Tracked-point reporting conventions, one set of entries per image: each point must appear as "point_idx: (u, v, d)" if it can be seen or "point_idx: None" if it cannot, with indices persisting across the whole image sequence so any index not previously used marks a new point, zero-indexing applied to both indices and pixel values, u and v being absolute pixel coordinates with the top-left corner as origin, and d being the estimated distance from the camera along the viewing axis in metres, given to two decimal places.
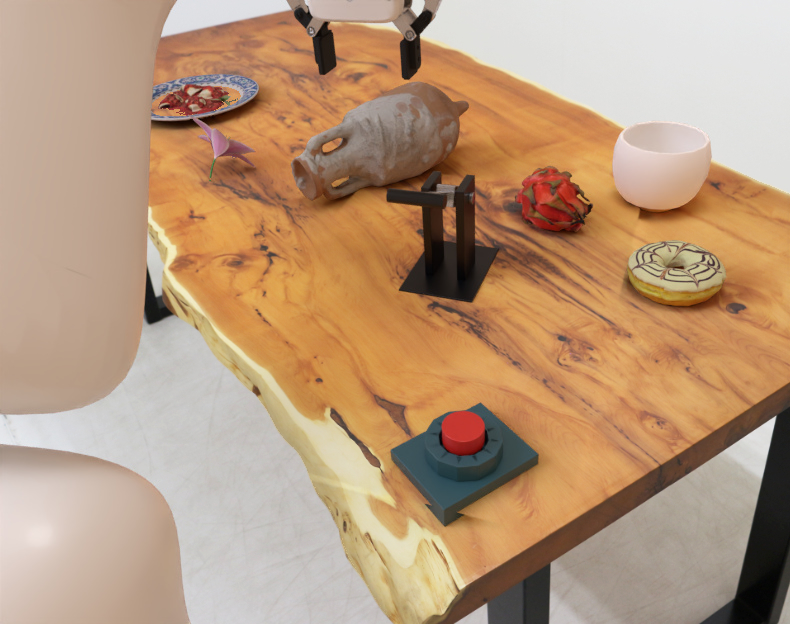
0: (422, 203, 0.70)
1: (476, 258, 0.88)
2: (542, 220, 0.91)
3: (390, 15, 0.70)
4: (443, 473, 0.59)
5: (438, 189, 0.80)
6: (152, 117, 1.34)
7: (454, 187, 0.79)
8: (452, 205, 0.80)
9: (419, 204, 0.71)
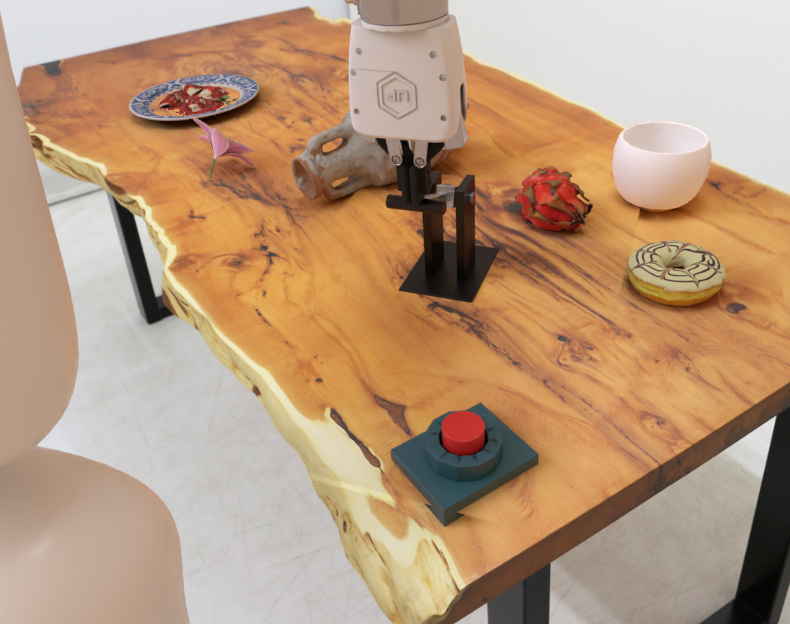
0: (422, 209, 0.70)
1: (476, 258, 0.88)
2: (542, 220, 0.91)
3: (444, 136, 0.63)
4: (443, 473, 0.59)
5: (438, 190, 0.80)
6: (152, 117, 1.34)
7: (454, 188, 0.79)
8: (452, 206, 0.80)
9: (419, 210, 0.71)
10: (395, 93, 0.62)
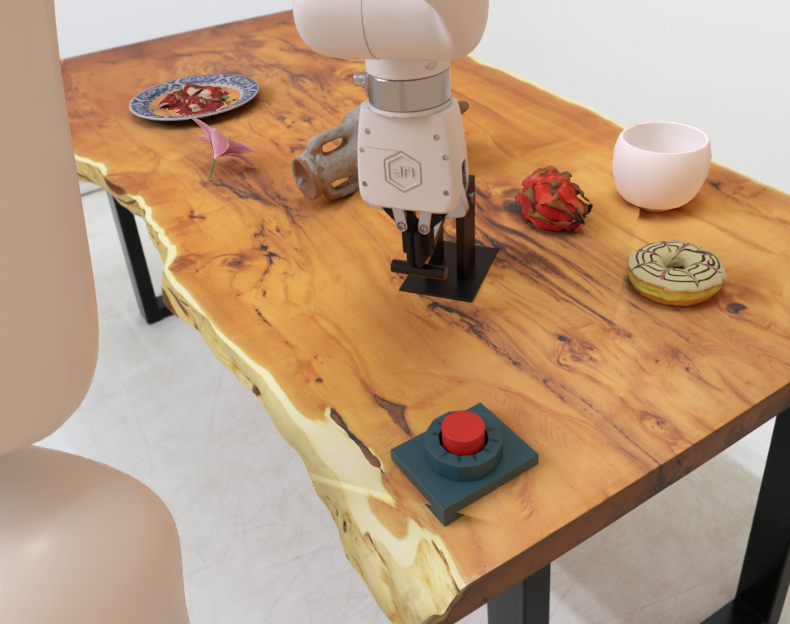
0: None
1: (476, 258, 0.88)
2: (542, 220, 0.91)
3: (447, 208, 0.67)
4: (443, 473, 0.59)
5: None
6: (152, 117, 1.34)
7: None
8: None
9: (423, 276, 0.75)
10: (401, 170, 0.66)
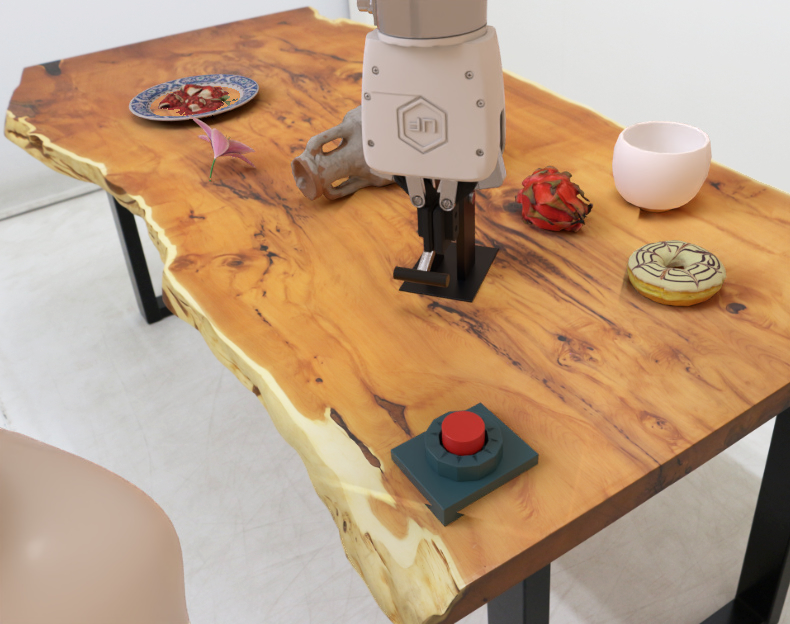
0: (427, 284, 0.76)
1: (476, 258, 0.88)
2: (542, 220, 0.91)
3: (480, 174, 0.51)
4: (443, 473, 0.59)
5: None
6: (152, 117, 1.34)
7: None
8: None
9: (425, 283, 0.77)
10: (420, 122, 0.50)
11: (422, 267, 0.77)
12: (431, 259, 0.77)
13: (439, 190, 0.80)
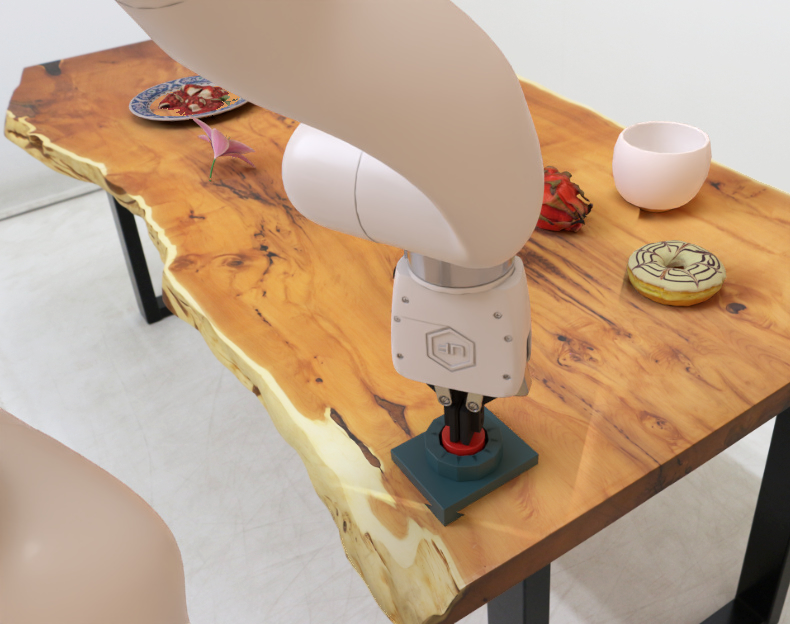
0: None
1: None
2: (542, 220, 0.91)
3: (506, 394, 0.52)
4: (443, 473, 0.59)
5: None
6: (152, 117, 1.34)
7: None
8: None
9: None
10: (448, 346, 0.52)
11: None
12: None
13: None
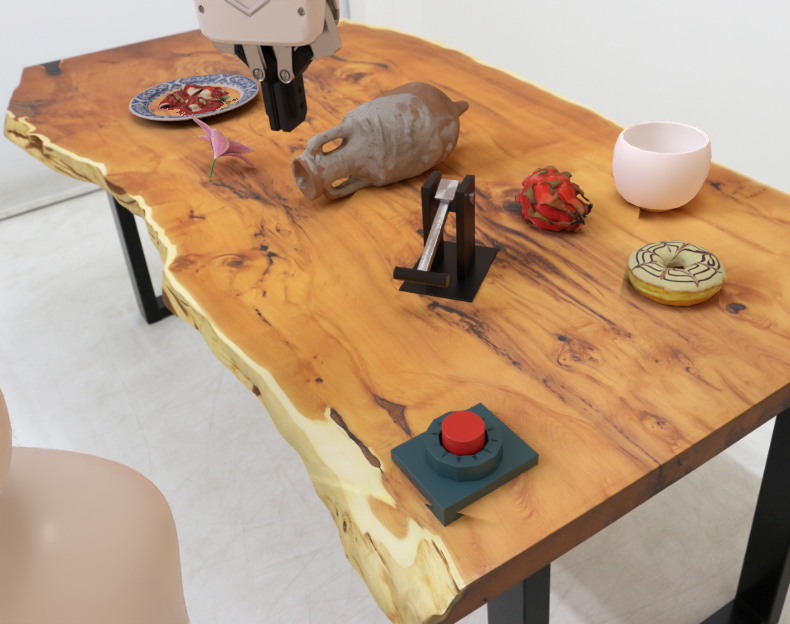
0: (427, 284, 0.76)
1: (476, 258, 0.88)
2: (542, 220, 0.91)
3: (305, 36, 0.50)
4: (443, 473, 0.59)
5: (437, 201, 0.80)
6: (152, 117, 1.34)
7: (452, 200, 0.79)
8: (454, 211, 0.81)
9: (425, 283, 0.77)
10: None
11: (422, 267, 0.77)
12: (431, 259, 0.77)
13: (439, 190, 0.80)
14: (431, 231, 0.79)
